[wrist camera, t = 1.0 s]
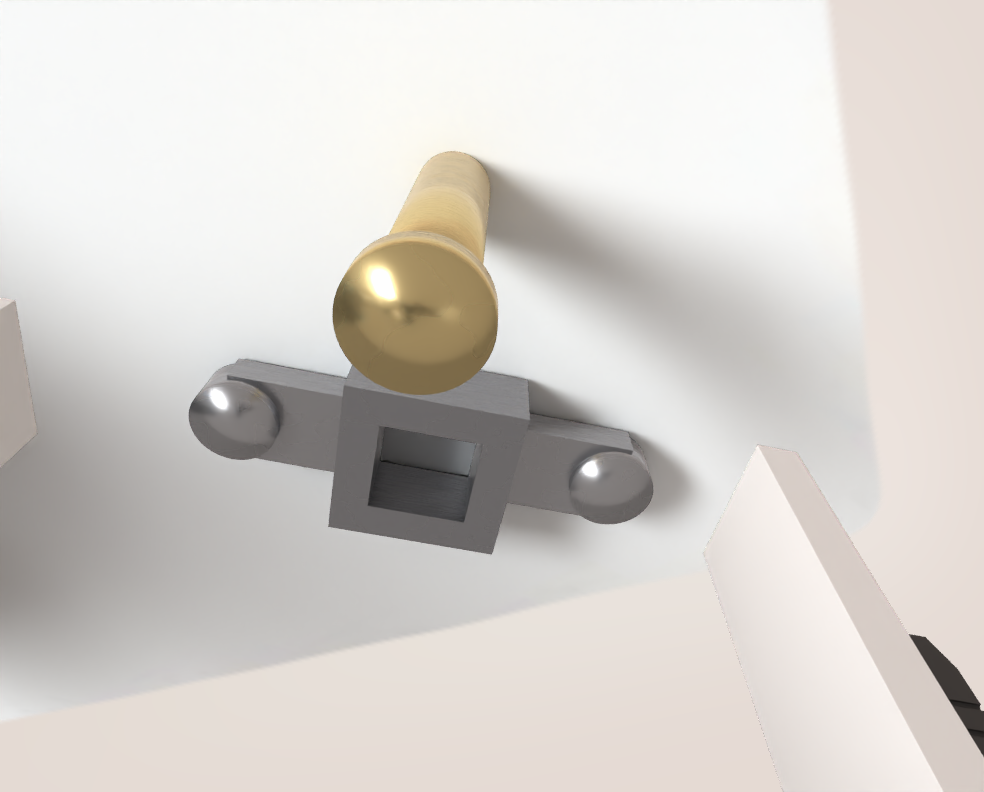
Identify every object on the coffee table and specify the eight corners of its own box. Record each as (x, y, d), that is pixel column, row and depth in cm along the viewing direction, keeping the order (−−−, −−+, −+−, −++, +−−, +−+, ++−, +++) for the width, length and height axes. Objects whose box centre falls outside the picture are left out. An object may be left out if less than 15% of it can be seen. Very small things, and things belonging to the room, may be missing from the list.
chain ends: (208, 457, 35) (179, 501, 32) (206, 317, 31) (173, 353, 28) (619, 529, 37) (629, 577, 34) (669, 407, 33) (685, 449, 30)
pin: (398, 226, 28) (326, 379, 17) (412, 127, 26) (340, 227, 15) (491, 246, 29) (480, 407, 18) (512, 150, 27) (513, 263, 16)
